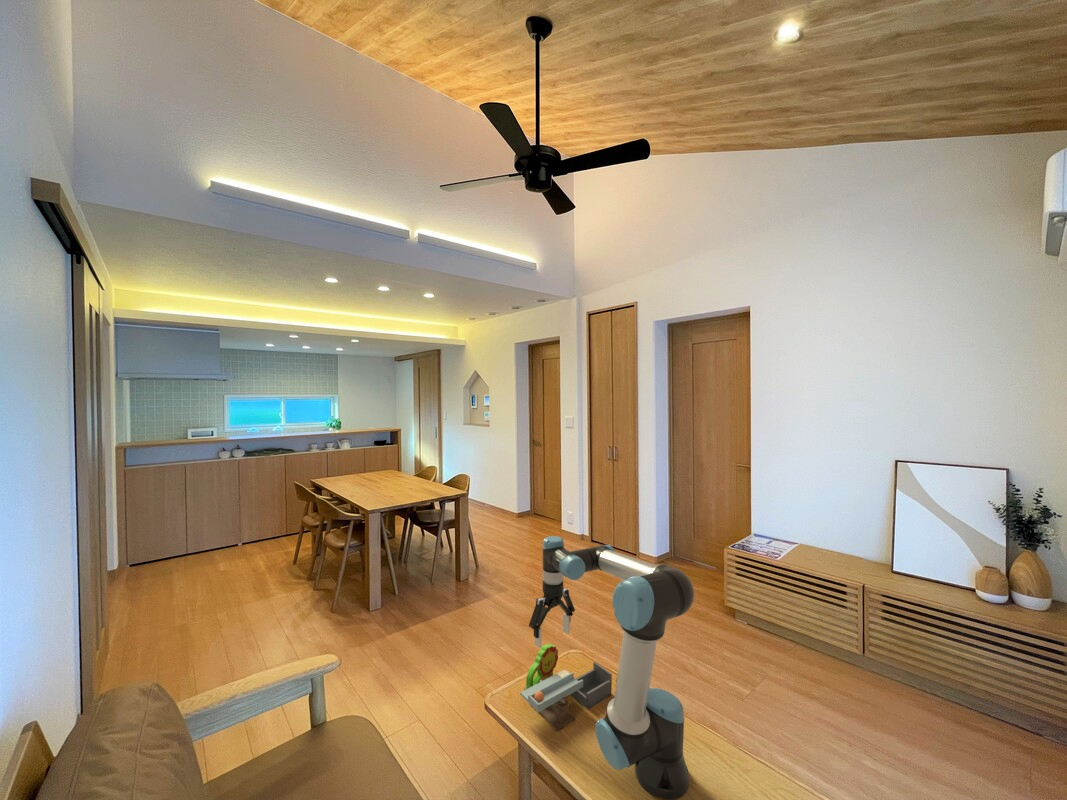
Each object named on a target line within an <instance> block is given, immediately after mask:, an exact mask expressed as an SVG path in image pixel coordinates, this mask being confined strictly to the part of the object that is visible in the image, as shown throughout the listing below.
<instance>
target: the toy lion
mask: <svg viewBox="0 0 1067 800" xmlns="http://www.w3.org/2000/svg"><path fill="white" fill-rule="evenodd" d="M558 654H559V649H558V648H557V646H555V645H553V644H550V643H546V645H541V648H540V650H538V652H537V654H536V657H535V660H534V662H533V663H532V665H531V666H530V668H529V669H528V672H527V674H526V683H525V685H524V687H523V691H524V690H526V689H528V688H530V687H532V686H534V685H536V684H538V683H539V681H540V680H543V681H544V680H546V679H547V678H549V677H551V676H553V675H554V669H555V668H556V667H557V662H558V660H559V655H558ZM535 674H536V675H535Z"/></svg>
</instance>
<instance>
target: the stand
mask: <svg viewBox="0 0 1067 800" xmlns="http://www.w3.org/2000/svg"><path fill="white" fill-rule="evenodd" d="M537 714H539V715H540V717H542V718H543V719H544V720H545V722H547V723H548V724H549V725H550V726H551V727H552V728H553V729H554V730H555V731H556V732H559V731H560V730H562V729H563V728H565V727H566V726H568V725H570V724H572V723H573V722H574V721H576V717H575V716H574V715H573V714H572V713H570V711H569V703H568V702H567V701H566V703H565V704H563V703H562V702H560V701H557V702H556V703H554V704H552V705H550V706H549V707H547V708H545V709H543V710H542V711H540V712H537Z"/></svg>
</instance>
